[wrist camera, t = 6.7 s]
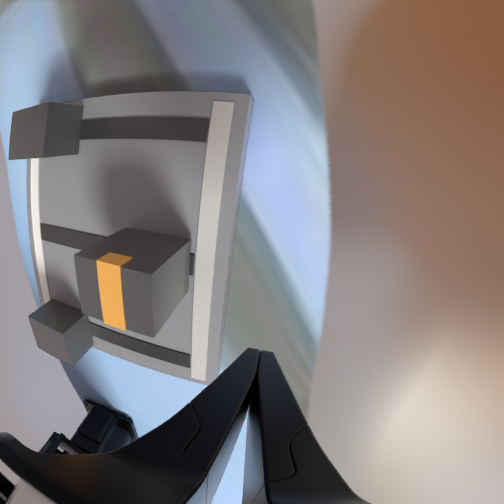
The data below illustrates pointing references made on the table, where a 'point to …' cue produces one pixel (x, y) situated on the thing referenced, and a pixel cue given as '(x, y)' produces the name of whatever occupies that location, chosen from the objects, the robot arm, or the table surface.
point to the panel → (134, 212)
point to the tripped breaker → (133, 279)
